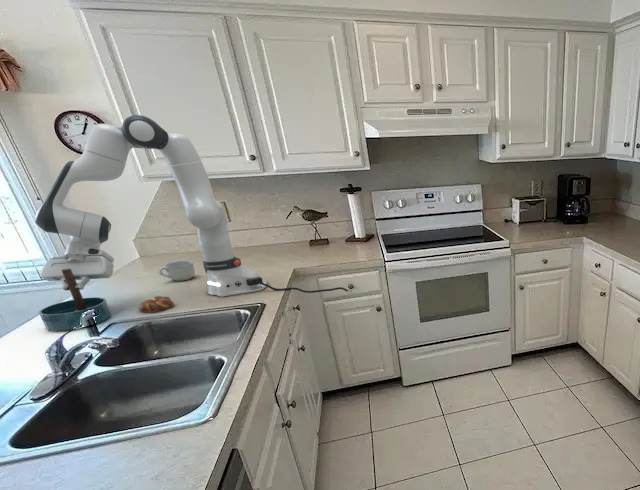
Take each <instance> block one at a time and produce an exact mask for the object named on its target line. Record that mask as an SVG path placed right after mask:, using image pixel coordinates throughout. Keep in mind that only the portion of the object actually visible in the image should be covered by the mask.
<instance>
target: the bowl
mask: <svg viewBox="0 0 640 490" xmlns="http://www.w3.org/2000/svg"><path fill="white" fill-rule="evenodd" d="M83 300H84V302H85V304H86V307H91V308H88V309H84V310H80V311H74V310H75V309H77V306H76V304H75V302H74V299H70V300H65V301H62V302H56V303H54V304H51V305H48V306H46V307H43V308H42V309H40V310H39V311H38V314H39V317H40V319H41V321H42V323H43V326H44V328H45V329H46V330H49V331H56V332H65V331H72V330H71V329H73V328H74V327H77V326H79V325H80V317H81V315H82V313H84V312H86V311H88V310H92V309H97V310H99V311H100V315H99V316H97V317H95V321H96V324H95V325H97V324H101V323H102V322H105V321H106V320H107V319H108V318H110V317H111V316H112V312H111V309H110V307H109V304H108V302H107V299H106V298H104V297H98V296H97V297H96V296H95V297H94V296H93V297H83Z"/></svg>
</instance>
